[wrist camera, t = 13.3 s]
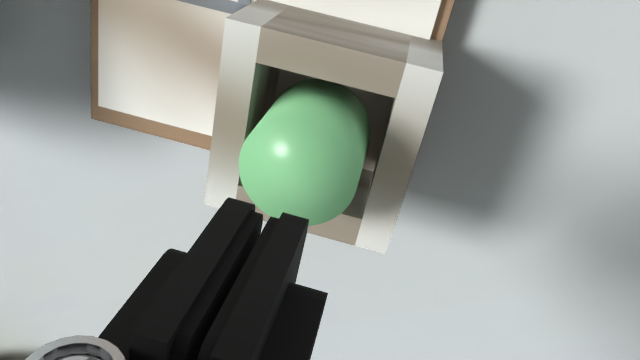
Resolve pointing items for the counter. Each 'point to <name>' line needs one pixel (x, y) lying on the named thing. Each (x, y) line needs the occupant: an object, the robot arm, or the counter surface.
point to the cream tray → (273, 83)
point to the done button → (307, 152)
